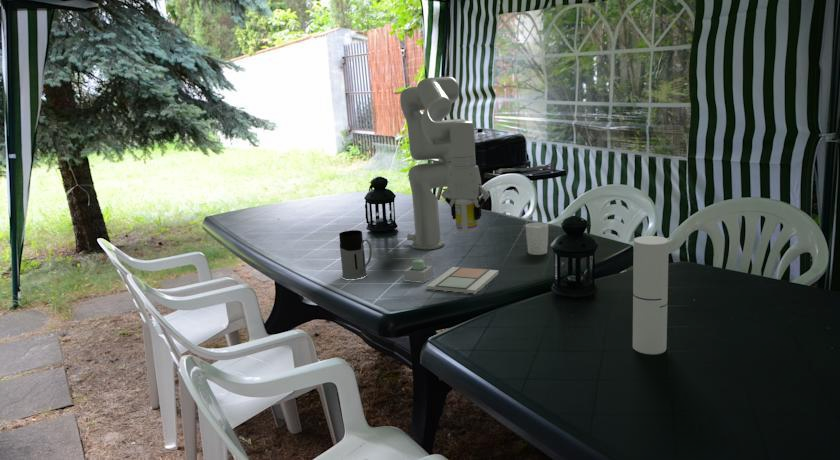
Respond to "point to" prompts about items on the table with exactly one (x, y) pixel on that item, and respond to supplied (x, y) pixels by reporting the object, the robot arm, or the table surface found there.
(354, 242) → the grey and black mug
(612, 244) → the table surface
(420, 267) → the button
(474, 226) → the supplement bottle
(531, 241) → the white cup
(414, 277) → the button box
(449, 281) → the picture board
